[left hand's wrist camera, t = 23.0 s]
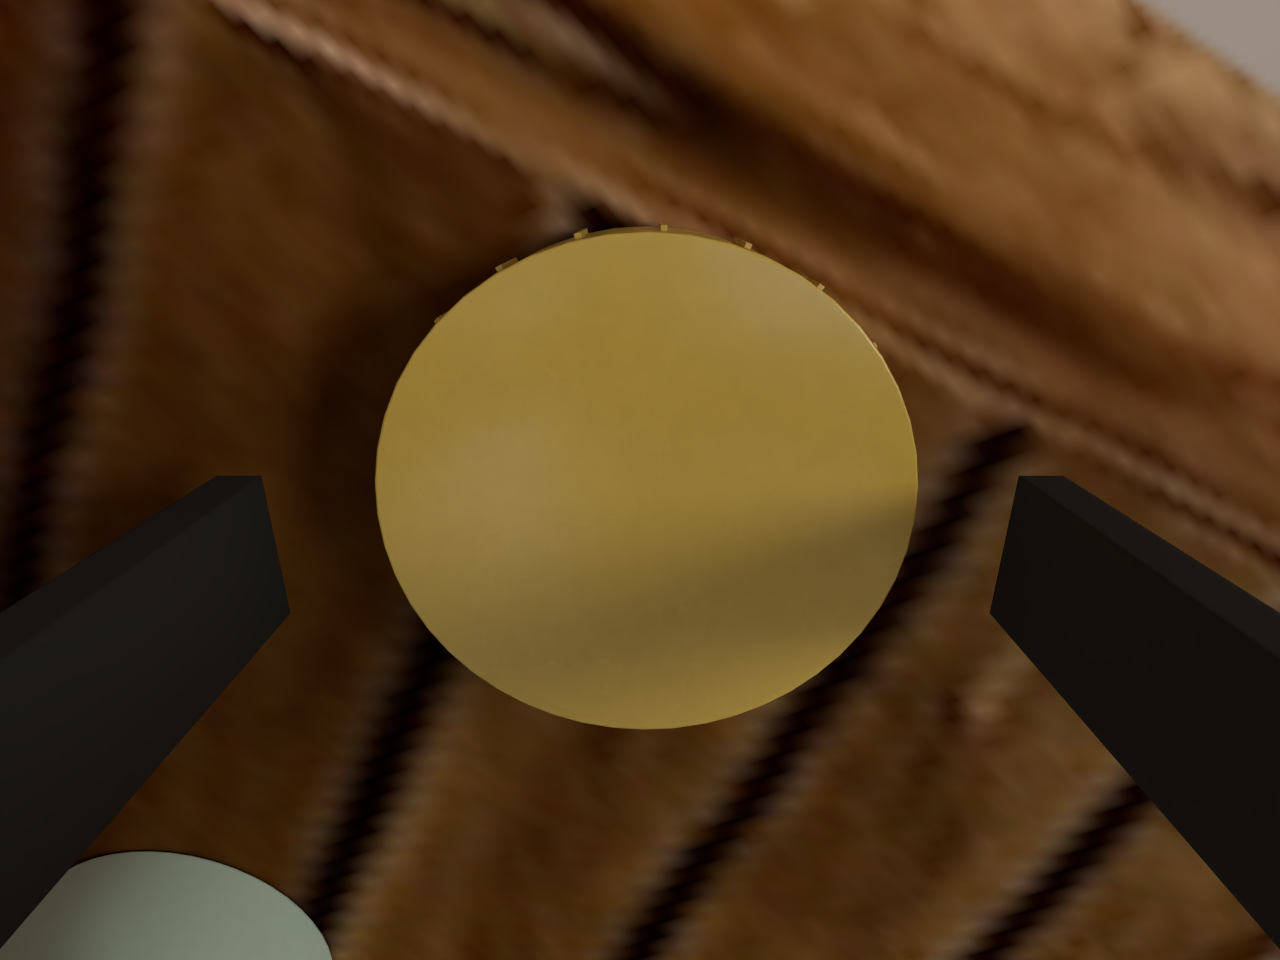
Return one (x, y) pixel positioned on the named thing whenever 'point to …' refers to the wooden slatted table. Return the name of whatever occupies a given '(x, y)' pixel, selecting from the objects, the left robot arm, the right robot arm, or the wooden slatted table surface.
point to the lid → (646, 478)
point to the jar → (164, 914)
